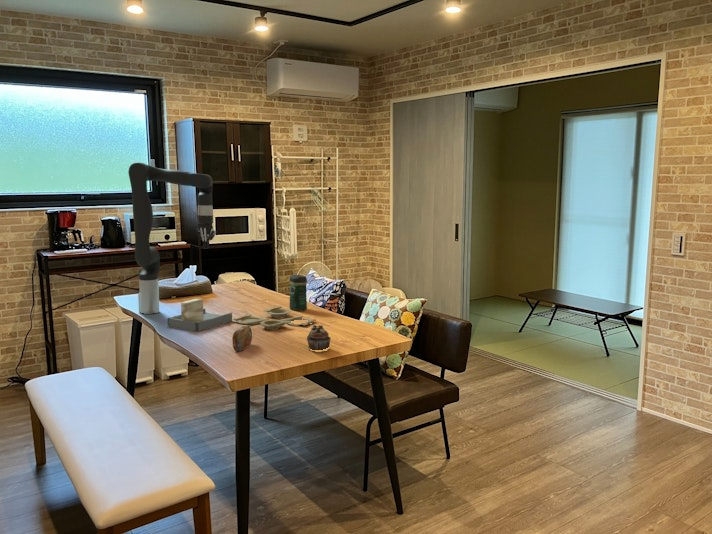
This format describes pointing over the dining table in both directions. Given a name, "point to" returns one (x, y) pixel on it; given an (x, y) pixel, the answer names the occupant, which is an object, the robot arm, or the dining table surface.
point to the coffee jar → (298, 292)
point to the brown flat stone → (242, 338)
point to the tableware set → (272, 324)
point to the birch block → (192, 310)
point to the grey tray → (207, 322)
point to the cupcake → (318, 338)
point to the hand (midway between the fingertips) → (206, 248)
